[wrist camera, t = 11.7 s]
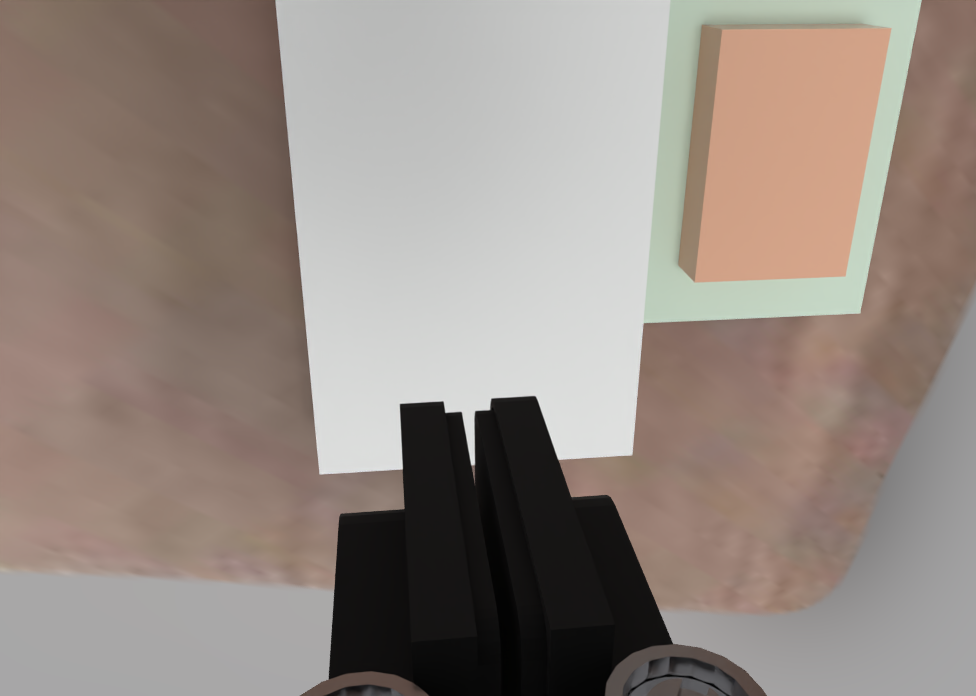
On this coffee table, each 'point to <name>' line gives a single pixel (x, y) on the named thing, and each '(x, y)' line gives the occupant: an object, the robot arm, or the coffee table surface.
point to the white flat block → (472, 211)
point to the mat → (667, 284)
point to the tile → (779, 149)
